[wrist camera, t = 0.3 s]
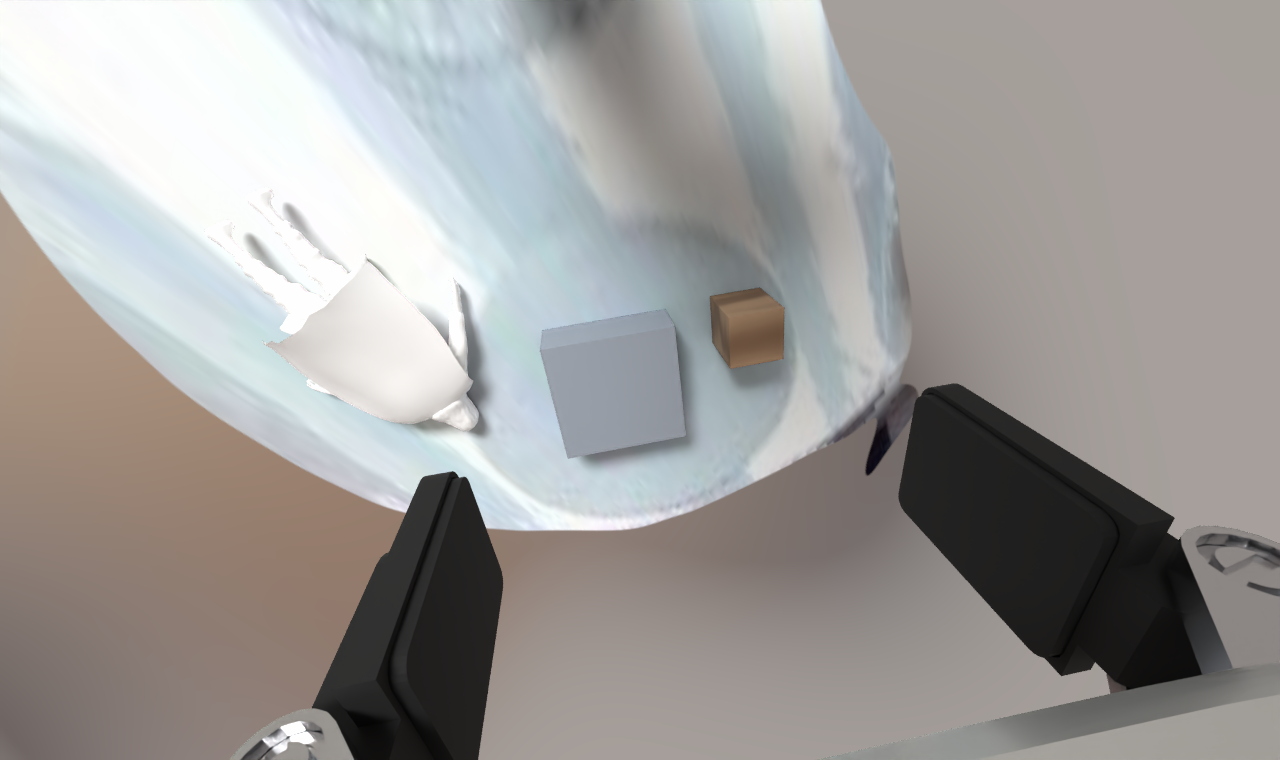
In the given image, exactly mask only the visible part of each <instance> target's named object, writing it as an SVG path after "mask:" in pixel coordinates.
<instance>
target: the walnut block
mask: <svg viewBox="0 0 1280 760" xmlns="http://www.w3.org/2000/svg"><path fill="white" fill-rule="evenodd" d="M710 306H711V323H712V340H713V344H714V345H715V347H716V348H717V350H718V351H719V353H720V354H721V356H722V357H723V358H724V360H725V361H726V363H727V364H728V366H729V367H730V369H732V368H737V367H743V366H748V365H753V364H759V363H764V362H770V361H775V360H781V359H783V351H784V307H783V306H781V305H780V304H779V303H778V302H777V301H775V300H774V299H773V298H772V297H770V296H769V295H768V294H767V293H766V292H764V291H763V290H762V289H761V288H755V289H749V290H743V291H737V292H731V293H726V294H720V295H714V296H710Z"/></svg>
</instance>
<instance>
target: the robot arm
mask: <svg viewBox="0 0 1280 760" xmlns="http://www.w3.org/2000/svg"><path fill="white" fill-rule="evenodd" d="M899 502H900V505H901V507H902V509H903V510H904V512H905V513H906V514H907V515H908V516H909V517H910V518H911V519H912V521H913V522H914V523H915V524H916V525H917V526H918V527H919V528H920V529H921V531H922V532H923V533H924V534H925V535H926V536H927V537H928V538H929V539H930V540H931V541H932V542H933V543H934V545H935V546H936V547H937V548H938V549H939V550H940V551H941V553H942V554H943V555H944V556H945V557H946V558H947V559H948V560H949V561H950V562H951V564H953V566H954V567H955V568H956V569H957V570H958V571H959V572H960V573H961V575H962V576H963V577H964V578H965V579H966V580H967V581H968V582H969V583H970V584H971V586H972V587H973V588H974V589H975V590H976V591H977V592H978V593H979V594H980V596H982V598H983V599H984V600H985V601H986V602H987V603H988V604H989V605H990V606H991V608H992V609H993V610H994V611H995V612H996V613H997V614H998V615H999V616H1000V618H1001V619H1002V620H1003V621H1004V622H1005V623H1006V624H1007V625H1008V626H1009V628H1010V629H1011V630H1012V631H1013V632H1014V633H1015V634H1016V635H1017V636H1018V637H1019V638H1020V640H1022V642H1023V643H1024V644H1025V645H1026V646H1027V647H1028V648H1029V649H1030V650H1031V651H1032V652H1033V653H1034V654H1036V655H1038V656H1040V657H1043V658H1045V659H1046V660H1047V661H1048V662H1049V663H1050V664H1051V666H1052V667H1053V668H1054V669H1055V670H1056V671H1057V672H1058V673H1059V674H1060V675H1061V676H1064V675H1068V674H1073V673H1077V672H1082V671H1086V670H1091V668H1092V666H1093V664H1094V663H1095V662H1096V663H1097V664H1098V665H1099V666H1100V667H1101V668H1102V669H1103V670H1104V671H1105V672H1106V673H1107V679H1108V684H1109V689H1110V694H1108V695H1104V696H1099V697H1095V698H1090V699H1086V700H1081V701H1077V702H1072V703H1068V704H1063V705H1059V706H1054V707H1050V708H1045V709H1040V710H1036V711H1032V712H1027V713H1022V714H1018V715H1013V716H1009V717H1004V718H1000V719H995V720H991V721H986V722H982V723H977V724H973V725H969V726H964V727H960V728H955V729H951V730H946V731H942V732H938V733H933V734H929V735H924V736H920V737H916V738H911V739H907V740H902V741H898V742H894V743H889V744H885V745H880V746H877V747H872V748H867V749H863V750H858V751H854V752H850V753H845V754H842V755H837V756H832V757H828V758H824V759H819V760H1280V544H1279V543H1277V542H1274V541H1272V540H1269V539H1267V538H1264V537H1262V536H1259V535H1255V534H1252V533H1248V532H1245V531H1241V530H1238V529H1232V528H1225V527H1219V526H1197V527H1194V528H1191V529H1187V530H1186V531H1185V532H1184V533H1183V535H1182V536H1181V537H1180V539H1179V540H1178V539H1176V538H1174V537H1173V536H1171V535H1170V534H1168V533H1167V531H1168V529H1169V527H1170V526H1171V524H1172V522H1173V520H1174V517H1173V516H1171V515H1169V514H1168V513H1166V512H1164V511H1163V510H1161V509H1160V508H1158V507H1156V506H1155V505H1153V504H1152V503H1150V502H1148V501H1147V500H1145V499H1144V498H1142V497H1140V496H1139V495H1137V494H1136V493H1134V492H1132V491H1131V490H1129V489H1127V488H1126V487H1124V486H1123V485H1121V484H1119V483H1118V482H1116V481H1115V480H1113V479H1111V478H1110V477H1108V476H1106V475H1105V474H1103V473H1102V472H1100V471H1098V470H1097V469H1095V468H1094V467H1092V466H1090V465H1089V464H1087V463H1086V462H1084V461H1082V460H1081V459H1079V458H1078V457H1076V456H1074V455H1073V454H1071V453H1070V452H1068V451H1066V450H1065V449H1063V448H1061V447H1060V446H1058V445H1057V444H1055V443H1053V442H1052V441H1050V440H1049V439H1047V438H1045V437H1044V436H1042V435H1040V434H1039V433H1037V432H1036V431H1034V430H1032V429H1031V428H1029V427H1028V426H1026V425H1024V424H1023V423H1021V422H1020V421H1018V420H1016V419H1015V418H1013V417H1012V416H1010V415H1008V414H1007V413H1005V412H1004V411H1002V410H1000V409H999V408H997V407H995V406H994V405H992V404H991V403H989V402H987V401H986V400H984V399H982V398H981V397H979V396H978V395H976V394H974V393H973V392H971V391H970V390H968V389H966V388H965V387H963V386H961V385H959V384H948V385H942V386H937V387H931V388H927V389H926V390H924V391H923V393H922V395H921V396H920V397H918V398H917V400H916V402H915V407H914V412H913V418H912V423H911V429H910V434H909V440H908V445H907V450H906V456H905V462H904V467H903V473H902V478H901V483H900V489H899ZM502 591H503V576H502V571H501V568H500V565H499V563H498V560H497V557H496V554H495V552H494V549H493V546H492V544H491V541H490V538H489V535H488V533H487V530H486V527H485V524H484V522H483V519H482V516H481V513H480V511H479V508H478V505H477V502H476V500H475V497H474V494H473V491H472V489H471V486H470V483H469V481H468V479H467V478H466V477H461V478H459V477H458V475H457V474H456V473H455V472H453V471H452V472H447V473H441V474H435V475H430V476H425V477H423V478H422V479H421V481H420V483H419V485H418V487H417V489H416V492H415V494H414V496H413V499H412V501H411V503H410V506H409V508H408V510H407V512H406V515H405V517H404V519H403V522H402V524H401V526H400V529H399V531H398V533H397V536H396V538H395V540H394V542H393V545H392V547H391V549H390V551H389V553H386V554H385V555H383V556H382V557H381V558H380V560H379V562H378V563H377V565H376V567H375V569H374V572H373V574H372V576H371V578H370V580H369V583H368V585H367V587H366V589H365V592H364V594H363V596H362V598H361V600H360V603H359V605H358V607H357V609H356V611H355V614H354V616H353V618H352V620H351V622H350V625H349V627H348V629H347V631H346V634H345V636H344V638H343V640H342V643H341V644H340V647H339V649H338V651H337V653H336V656H335V658H334V660H333V662H332V664H331V667H330V669H329V671H328V673H327V675H326V678H325V680H324V682H323V684H322V686H321V689H320V691H319V693H318V695H317V697H316V700H315V702H314V704H313V706H312V709H305V710H298V711H295V712H293V713H290V714H288V715H285V716H283V717H280V718H278V719H277V720H275V721H274V722H272V723H271V724H269V725H267V726H266V727H264V728H263V729H261V730H260V731H258V732H257V733H256V734H255V735H254V736H253V737H252V738H250V739H249V740H248V741H247V742H246V743H245V744H243V745H242V746H241V747H240V748H239V749H238V750H237V752H236V753H235V754H234V755H233V756H232V757H231V758H230V760H478V756H479V748H480V742H481V735H482V728H483V722H484V715H485V708H486V701H487V694H488V686H489V680H490V674H491V667H492V660H493V653H494V645H495V639H496V633H497V632H496V631H497V626H498V619H499V612H500V605H501V598H502Z"/></svg>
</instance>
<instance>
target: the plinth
mask: <svg viewBox="0 0 1280 760" xmlns="http://www.w3.org/2000/svg"><path fill="white" fill-rule="evenodd" d="M540 352H541V356H542V360H543V364H544V368H545V372H546V376H547V380H548V383H549V387H550V391H551V395H552V399H553V403H554V407H555V411H556V415H557V418H558V422H559V426H560V430H561V434H562V438H563V442H564V446H565V450H566V453H567V457H568V459H569V458H574V457H579V456H585V455H590V454H595V453H600V452H606V451H611V450H616V449H621V448H627V447H632V446H637V445H642V444H648V443H653V442H658V441H663V440H669V439H674V438H679V437H684V436H686V432H685V423H684V413H683V403H682V393H681V383H680V373H679V363H678V353H677V343H676V333H675V326H674V324H673V322H672V320H671V319H670V317H669V315H668V313H667V311H666V310H665V309H662V310H656V311H650V312H645V313H639V314H633V315H627V316H622V317H616V318H610V319H604V320H598V321H593V322H587V323H581V324H575V325H570V326H564V327H558V328H552V329H547V330H542V337H541V345H540Z"/></svg>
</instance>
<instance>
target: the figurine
mask: <svg viewBox="0 0 1280 760" xmlns="http://www.w3.org/2000/svg"><path fill="white" fill-rule="evenodd" d="M272 198H273V191H272V190H271V189H270V188H268V187H267V188H264V189H261V190H258V191H255V192H253V193H251V194H250V195H248V196H247V197H246V200H247V201H248V202H249V204H250V205H252V206H253V207H254V208H255V209H256V210H258V211H259V212H260V213H261V214H262V215H263V216H264V217H266V219H267V220H268V221H269V222H270V223H271V224H272V225H273V226H274V231H275V232H276V233H277V234H279V235H280V236H281V237H282V238H283V242H284V244H285V245H286V246H288V247H289V248H290V250H291V254H292V255H293V256H294V257H295V258H296V259H297V260H298V263H299V265H300V266H302V267H304V268H305V269H306V270H307V271H308V274H309V277H310V278H311V279H313V280H314V281H316V282H318V283H319V284H321V285H322V287H323V288H324V291H325V292H326V293H327V294H329V295H330V296H331V297H330V299H329V300H328V301H326V300H325V299H324V298H323V297H322V296H321V295H318V294H314V293H311V292H309V291H307V290H306V289H305V288H304V287H303V286H302V285H301V284H299V283H291V282H289V281H288V280H287V279H286V278H285V277H284V276H283V275H278V274H277V273H276V272H275V271H274V270H272V269H270V268H267V267H266V266H265V265H264V263H263V262H261V261H259V260H255V259H254V258H253V257H252V256H251V254H250V253H249V252H245V251H244V250H243V249H242V248H241V247H240V246H239V245H238V244H237V243H236V242H235V241H234V240H233V238H232V236H231V233H232V230H233V229H234V227H235V226H234V223H233V222H232V221H230V220H226V221H223V222H220V223H217V224H215V225H213V226H211V227H209V228H208V229H206V230H205V231H204V232H205V233H206V235H207V236H208V237H209V238H211V239H212V240H213V241H215V242H216V243H217V244H219V245H220V246H222V247H223V248H224V249H226V250H227V251H228V252H229V253H231V254H232V255H233V256H234V257H235V259H236V263H237V264H238V265H239V266H241V267H242V268H243V270H244V274H245V275H247V276H249V277H251V278H252V279H253V280H254V282H255V283H256V284H257V285H258V286H259V287H261V288H262V290H263V292H264V293H266V294H268V295H270V296H272V297H273V298H274V299H275V301H276V303H277V304H278V305H280V306H282V307H283V308H284V309H285V310H286V311H287V312H288V313H289V315H288V317H287V318H286V320H285V321H284V323H283V325H282V326H280V330H282V331H283V332H286V333H288V334H291V336H290V337H288V338H286V339H285V340H283V341H282V342H280V343H275V342H273V341H272V342H269V343H267V344H266V343H264V342H263V343H264V345H266V346H268V347H270V348H272V349H273V350H274V351H275V352H276V353H278V354H279V355H280V356H281V357H283V358H284V359H285V360H286V361H287V362H288V363H290V364H291V365H292V366H293V367H294V368H295V369H296V370H297V371H299V372H300V373H301V374H303V375H304V376H306V377H307V378H309V379H308V380H307V382H308V383H309V384H310V385H311V386H310V385H309V384H307V385H308V386H309V387H310V388H312V389H314V390H316V391H319V392H323V393H326V394H331V395H334V396H336V397H338V398H339V399H341V400H343V401H345V402H347V403H349V404H350V405H352V406H354V407H356V408H358V409H360V410H362V411H364V412H366V413H368V414H371V415H373V416H376V417H378V418H381V419H384V420H387V421H391V422H395V423H404V424H416V423H419V422H422V421H425V420H427V419H431V418H432V419H433V420H435V421H439V422H445V423H447V424H449V425H452V426H453V427H455V428H457V429H459V430H462V431H470V430H471V429H473V428H474V427H475V425H476V424H477V423H478V419H479V412H478V410H477V408H476V407H475V405H474V404H473V403H472V401H471V400H470V399H469V398H468V396H467V394H466V392H467V391H468V390H469V389H470V388H471V386H472V383H473V380H471V379H470V378H469V377H468V372H467V364H468V363H467V354H468V347H467V337H466V331H465V318H464V314H463V313H462V303H461V298H460V290H459V285H458V283H457V282H456V281H455V280H454V279H453V277H451V278H450V279H449V280H450V281H451V283H452V285H453V296H454V312H450V314H449V326H450V332H449V341H448V345H447V343H446V341H445V340H444V339H443V337H442V336H441V335H440V333H439V332H438V331H437V329H436V328H435V327H434V326H433V325H432V324H431V323H430V322H429V321H428V320H427V319H426V318H425V317H424V316H423V314H422V313H421V312H420V311H419V310H418V309H417V308H416V307H415V306H414V305H413V304H412V303H411V302H410V301H409V300H408V299H407V298H406V297H405V296H404V295H403V294H402V293H401V292H400V291H399V290H398V289H397V288H396V287H395V286H393V285H392V284H391V283H390V282H389V281H388V280H387V279H386V278H385V277H384V276H383V275H382V274H381V273H380V271H379V270H378V269H377V268H376V267H374V266H373V265H372V264H371V263H369V262H368V261H367V257H366V254H364V255H362V256H361V257H360V258H361V261H360V262H359V264H358V266H356V267H355V268H354V269H353V270H352V271H351V272H350V273H348V272H347V271H346V270H345V269H344V267H343V266H341V265H338V264H336V263H335V262H334V261H333V260H328V259H326V258H324V257H323V255H322V253H321V251H320V250H319V249H317V248H315V247H314V246H313V245H312V244H311V243H310V242H309V241H308V240H307V239H306V238H305V237H304V236H303V234H302V233H300V232H299V231H297V230H295V229H294V228H293V227H292V225H291V223H290V222H289V221H284V220H283V219H282V218H281V217H280V216H279V215H278V214H277V213H276V212H275V210H274V209H273V207H272V205H271V199H272Z"/></svg>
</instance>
